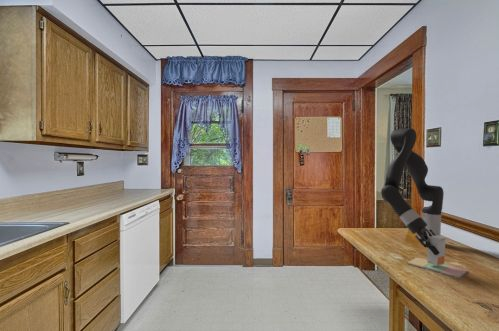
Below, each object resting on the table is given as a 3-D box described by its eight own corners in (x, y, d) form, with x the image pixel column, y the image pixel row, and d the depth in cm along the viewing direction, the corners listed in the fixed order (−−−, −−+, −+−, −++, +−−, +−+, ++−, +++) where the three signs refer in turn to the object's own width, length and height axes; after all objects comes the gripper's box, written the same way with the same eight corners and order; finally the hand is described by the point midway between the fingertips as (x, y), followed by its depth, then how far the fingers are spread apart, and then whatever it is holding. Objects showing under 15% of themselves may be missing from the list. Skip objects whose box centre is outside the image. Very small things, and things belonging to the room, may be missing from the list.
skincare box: (436, 266, 123) (438, 239, 122) (426, 263, 127) (428, 236, 126) (444, 264, 126) (446, 237, 125) (434, 261, 129) (436, 235, 129)
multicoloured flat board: (417, 258, 137) (417, 256, 137) (467, 271, 122) (467, 270, 122) (406, 263, 130) (406, 262, 130) (459, 278, 114) (459, 277, 114)
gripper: (412, 218, 127) (442, 251, 118) (425, 214, 136) (453, 245, 127) (400, 227, 131) (427, 260, 122) (413, 223, 140) (439, 253, 131)
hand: (440, 252), depth 125 cm, fingers closed on skincare box, 6 cm apart
